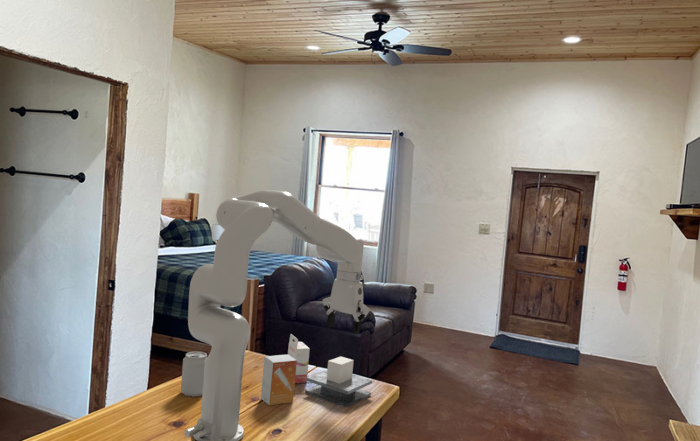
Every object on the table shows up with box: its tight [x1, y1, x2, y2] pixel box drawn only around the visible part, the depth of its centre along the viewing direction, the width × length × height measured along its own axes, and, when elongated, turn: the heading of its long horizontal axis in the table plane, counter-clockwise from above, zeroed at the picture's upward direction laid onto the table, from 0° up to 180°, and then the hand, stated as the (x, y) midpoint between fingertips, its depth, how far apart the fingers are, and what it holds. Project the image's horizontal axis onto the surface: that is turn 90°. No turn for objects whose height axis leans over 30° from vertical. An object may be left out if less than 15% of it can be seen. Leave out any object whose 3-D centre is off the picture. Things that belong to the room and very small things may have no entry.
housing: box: [326, 356, 355, 384], centre depth 174 cm, size 5×7×6 cm
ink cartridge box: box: [287, 333, 311, 384], centre depth 185 cm, size 9×5×15 cm, turn 25°
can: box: [180, 351, 208, 398], centre depth 164 cm, size 8×8×12 cm
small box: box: [260, 353, 297, 406], centre depth 164 cm, size 8×6×13 cm
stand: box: [304, 369, 373, 408], centre depth 174 cm, size 14×16×5 cm
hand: (343, 330), depth 173 cm, fingers open, 9 cm apart
